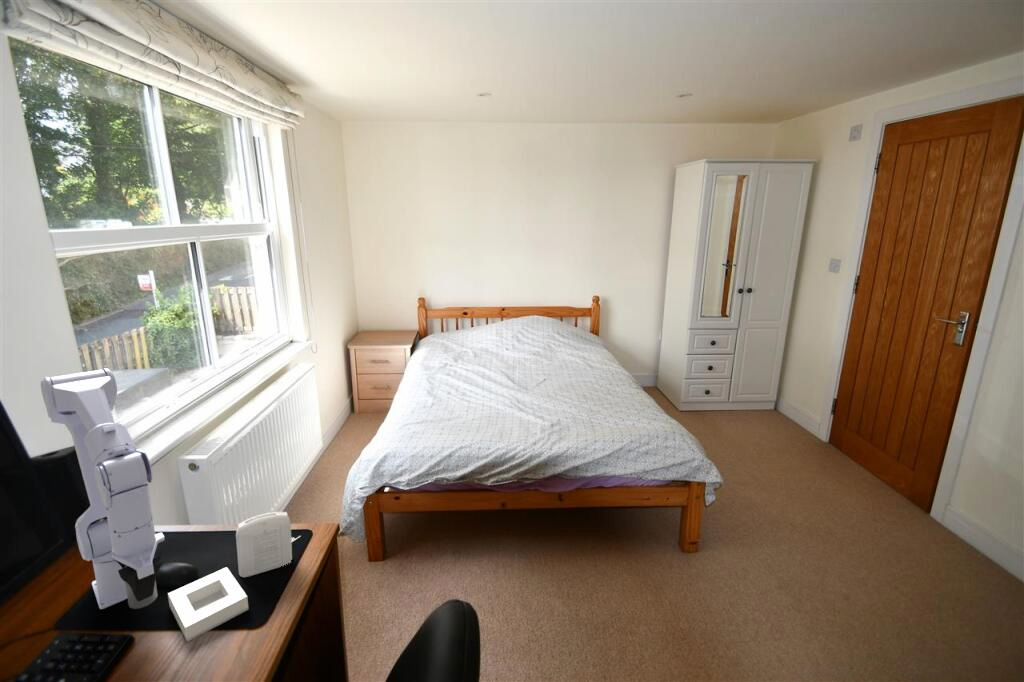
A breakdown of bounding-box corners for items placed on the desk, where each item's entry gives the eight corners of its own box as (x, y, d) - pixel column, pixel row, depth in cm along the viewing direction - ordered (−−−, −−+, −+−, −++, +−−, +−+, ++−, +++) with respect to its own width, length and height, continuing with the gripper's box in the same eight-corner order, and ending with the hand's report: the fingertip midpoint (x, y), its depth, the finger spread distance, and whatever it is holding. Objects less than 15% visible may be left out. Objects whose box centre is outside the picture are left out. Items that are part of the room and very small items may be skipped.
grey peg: (126, 599, 81) (120, 565, 79) (154, 587, 84) (149, 554, 82) (131, 612, 79) (125, 577, 77) (160, 599, 82) (155, 565, 80)
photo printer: (291, 552, 104) (287, 503, 101) (294, 564, 101) (291, 514, 98) (238, 568, 98) (233, 517, 96) (239, 581, 95) (234, 529, 92)
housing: (169, 606, 88) (167, 593, 87) (228, 579, 95) (226, 566, 95) (187, 641, 81) (185, 627, 80) (248, 609, 88) (247, 596, 88)
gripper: (172, 531, 76) (181, 600, 79) (150, 495, 85) (159, 558, 88) (116, 551, 71) (128, 624, 74) (99, 511, 80) (111, 577, 83)
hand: (141, 590), depth 81 cm, fingers closed on grey peg, 4 cm apart
